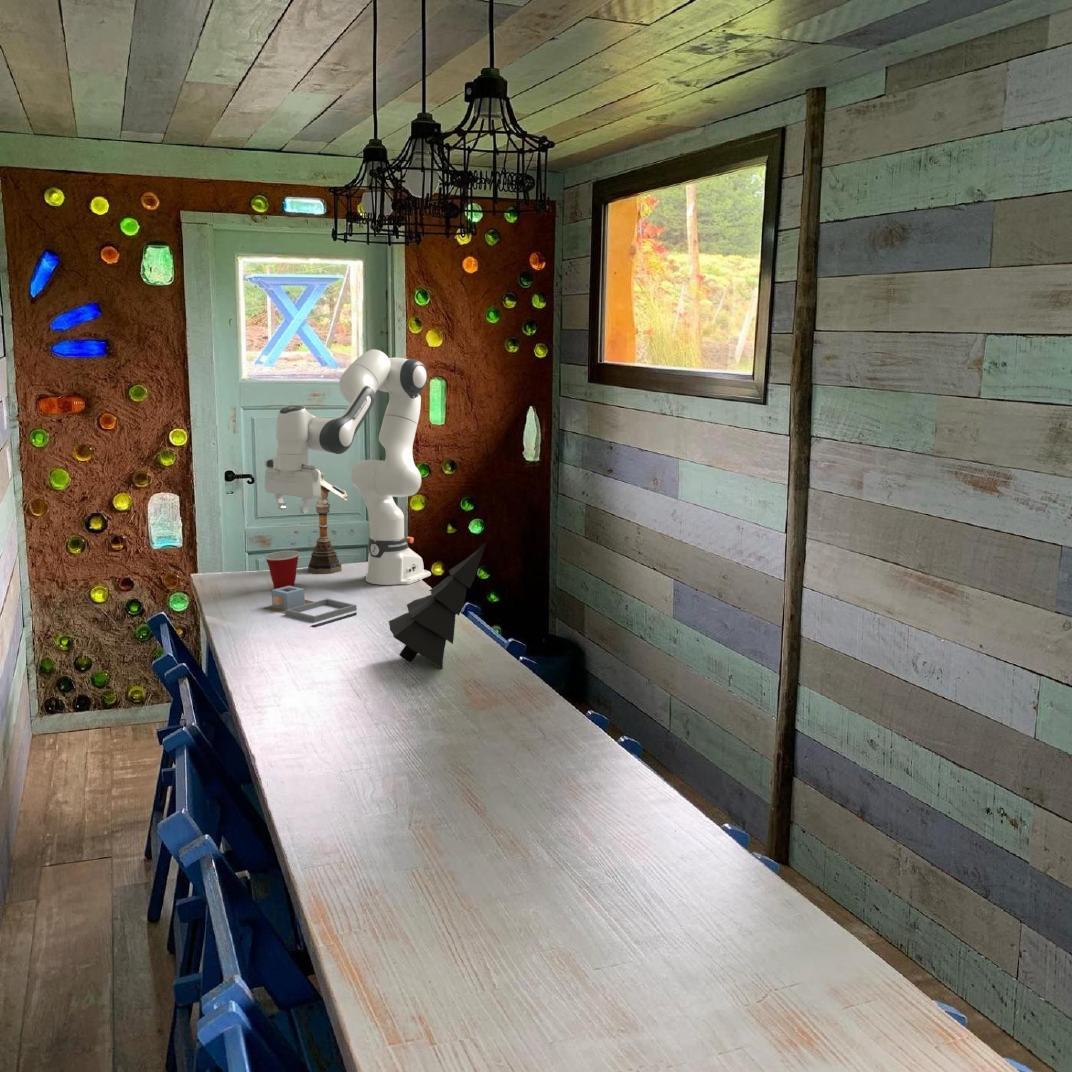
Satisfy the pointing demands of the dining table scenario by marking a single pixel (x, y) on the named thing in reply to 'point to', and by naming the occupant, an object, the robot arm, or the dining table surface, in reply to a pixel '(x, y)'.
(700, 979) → the dining table surface
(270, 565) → the plastic cup
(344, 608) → the tray
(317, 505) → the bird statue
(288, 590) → the board
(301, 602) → the collar
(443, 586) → the decorative tree
